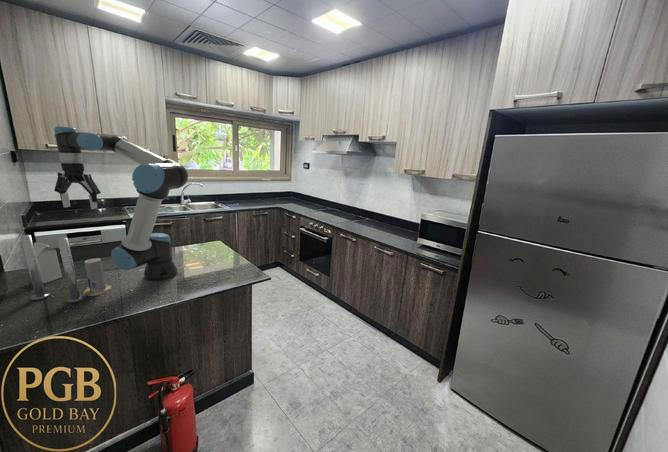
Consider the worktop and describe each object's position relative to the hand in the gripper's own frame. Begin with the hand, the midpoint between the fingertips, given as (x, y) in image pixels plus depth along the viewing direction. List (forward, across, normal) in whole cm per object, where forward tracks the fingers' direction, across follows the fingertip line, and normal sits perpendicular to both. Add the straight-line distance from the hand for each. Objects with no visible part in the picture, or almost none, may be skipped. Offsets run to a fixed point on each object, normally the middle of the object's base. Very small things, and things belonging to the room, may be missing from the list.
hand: (80, 207), depth 129 cm
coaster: (+37, -13, +12) cm, 41 cm away
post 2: (+37, -11, +20) cm, 43 cm away
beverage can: (+36, -14, +12) cm, 41 cm away
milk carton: (+37, +19, +5) cm, 42 cm away
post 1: (+37, +5, +20) cm, 42 cm away
